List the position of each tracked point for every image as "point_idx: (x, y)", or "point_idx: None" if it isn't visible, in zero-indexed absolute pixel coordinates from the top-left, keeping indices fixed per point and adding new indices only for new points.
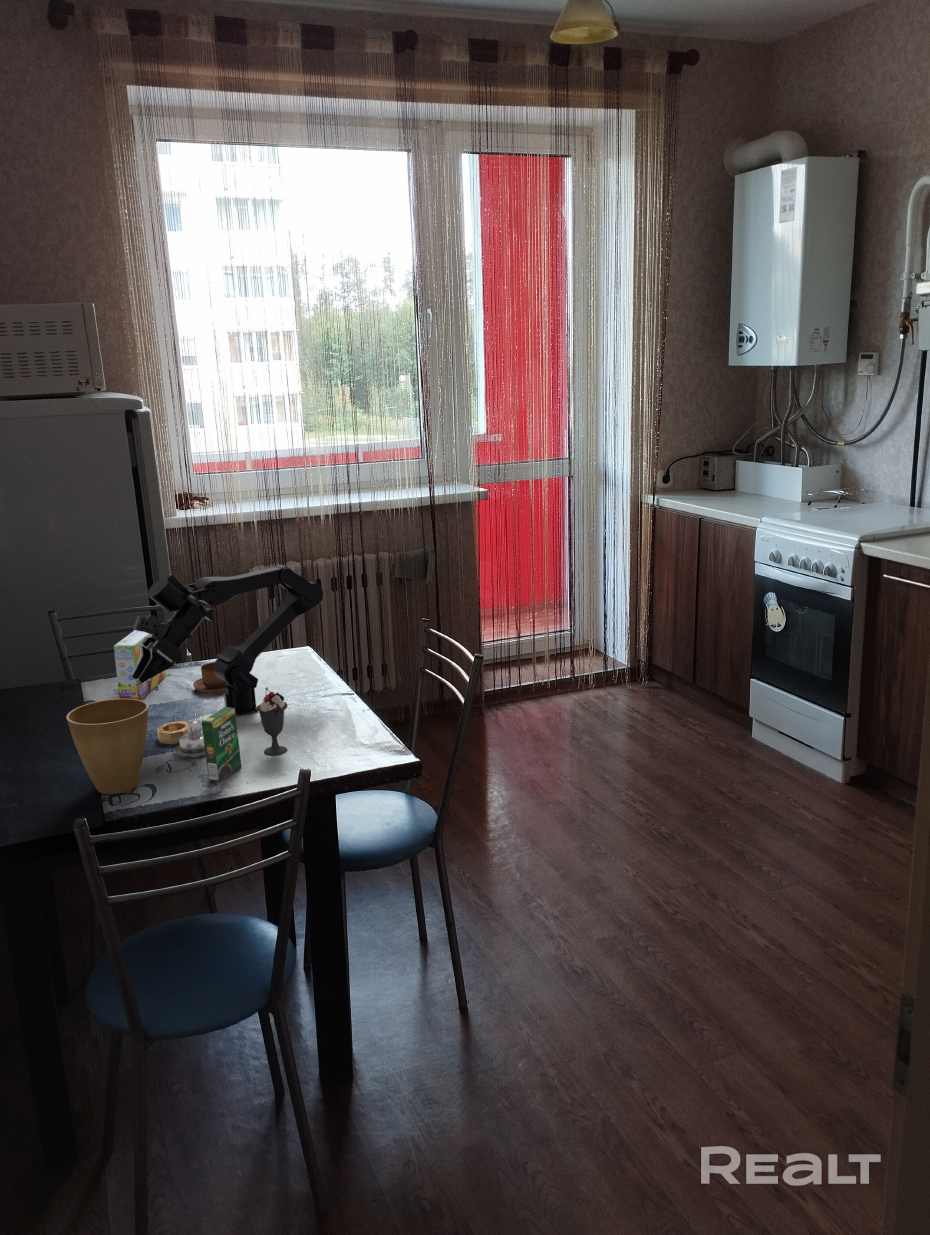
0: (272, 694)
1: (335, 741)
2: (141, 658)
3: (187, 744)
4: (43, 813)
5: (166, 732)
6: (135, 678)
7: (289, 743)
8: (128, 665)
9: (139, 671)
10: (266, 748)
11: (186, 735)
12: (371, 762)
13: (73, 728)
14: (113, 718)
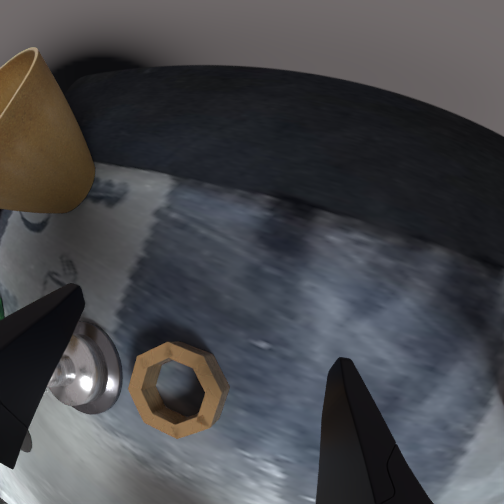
0: None
1: (17, 489)
2: (387, 485)
3: None
4: (97, 97)
5: (150, 355)
6: (330, 373)
7: (33, 466)
8: None
9: (335, 415)
10: (28, 434)
11: (84, 365)
12: None
13: (13, 69)
14: (27, 144)
